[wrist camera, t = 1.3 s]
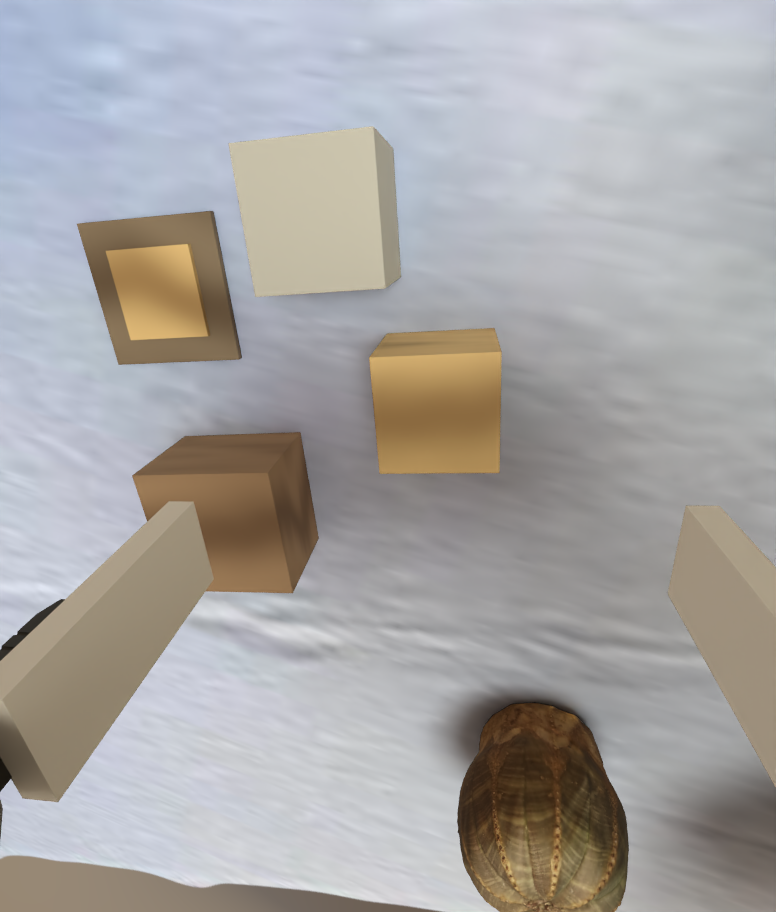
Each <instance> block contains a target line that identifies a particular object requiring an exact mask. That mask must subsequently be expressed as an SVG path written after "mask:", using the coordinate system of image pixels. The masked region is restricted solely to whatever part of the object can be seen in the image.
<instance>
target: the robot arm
mask: <svg viewBox="0 0 776 912" xmlns="http://www.w3.org/2000/svg"><path fill="white" fill-rule="evenodd" d="M213 579H214V578H213V574H212V570H211V566H210V562H209V559H208V555H207V551H206V547H205V543H204V540H203V536H202V532H201V528H200V524H199V521H198V517H197V513H196V509H195V505H194V502H184V501H169V502H168V503H167V504H166V505H165V506H163V507H162V508H161V509H160V510H159V511H158V512H157V513H156V514H155V515H154V516H153V517H152V518H151V519H150V520H149V521H148V522H147V523H146V524H144V525H143V526H142V527H141V528H140V529H139V530H138V531H137V532H136V533H135V534H134V535H133V536H132V537H131V538H130V539H129V540H128V541H127V542H125V543H124V544H123V545H122V546H121V547H120V548H119V549H118V550H117V551H116V552H115V553H114V554H113V555H112V556H111V557H110V558H109V559H108V560H107V561H105V562H104V563H103V564H102V565H101V566H100V567H99V568H98V569H97V570H96V571H95V572H94V573H93V574H92V575H91V576H90V577H89V578H88V579H86V580H85V581H84V582H83V583H82V584H81V585H80V586H79V587H78V588H77V589H76V590H75V591H74V592H73V593H72V594H71V595H70V596H69V597H67V598H66V599H61V600H59V601H57V602H56V603H54V604H52V605H51V606H49V607H47V608H46V609H44V610H43V611H41V612H39V613H38V614H36V615H35V616H34V617H33V618H32V619H31V620H30V621H29V622H28V623H26V624H25V625H24V626H23V627H22V628H21V629H20V630H19V631H18V633H17V635H13V636H12V637H11V638H10V639H9V640H8V641H7V642H6V643H5V644H4V645H2V649H1V650H0V791H1V790H2V789H3V788H4V786H5V785H6V784H7V783H8V781H9V780H10V779H12V781H13V783H14V784H15V786H16V788H17V789H18V791H19V793H20V794H21V796H22V798H25V799H34V800H43V801H53V802H59V800H60V799H61V797H62V796H63V794H64V793H65V792H66V790H67V789H68V787H69V786H70V784H71V783H72V782H73V780H74V779H75V777H76V776H77V774H78V773H79V772H80V770H81V769H82V767H83V766H84V764H85V763H86V761H87V760H88V759H89V757H90V756H91V754H92V753H93V751H94V750H95V749H96V747H97V746H98V744H99V743H100V741H101V740H102V739H103V737H104V736H105V734H106V733H107V731H108V730H109V729H110V727H111V726H112V724H113V723H114V721H115V720H116V718H117V717H118V716H119V714H120V713H121V711H122V710H123V708H124V707H125V706H126V704H127V703H128V701H129V700H130V698H131V697H132V696H133V694H134V693H135V691H136V690H137V688H138V687H139V686H140V684H141V683H142V681H143V680H144V678H145V677H146V675H147V674H148V673H149V671H150V670H151V668H152V667H153V665H154V664H155V663H156V661H157V660H158V658H159V657H160V655H161V654H162V653H163V651H164V650H165V648H166V647H167V645H168V644H169V643H170V641H171V640H172V638H173V637H174V635H175V634H176V632H177V631H178V630H179V628H180V627H181V625H182V624H183V622H184V621H185V620H186V618H187V617H188V615H189V614H190V612H191V611H192V610H193V608H194V607H195V605H196V604H197V602H198V601H199V600H200V598H201V597H202V595H203V594H204V592H205V591H206V589H207V588H208V587H209V585H210V584H211V582H212V581H213ZM668 595H669V597H670V599H671V601H672V603H673V604H674V606H675V608H676V610H677V612H678V613H679V615H680V617H681V619H682V620H683V622H684V624H685V626H686V628H687V629H688V631H689V633H690V635H691V637H692V638H693V640H694V642H695V644H696V646H697V647H698V649H699V651H700V653H701V655H702V656H703V658H704V660H705V662H706V663H707V665H708V667H709V669H710V671H711V672H712V674H713V676H714V678H715V680H716V681H717V683H718V685H719V687H720V689H721V690H722V692H723V694H724V696H725V698H726V699H727V701H728V703H729V705H730V706H731V708H732V710H733V712H734V714H735V715H736V717H737V719H738V721H739V723H740V724H741V726H742V728H743V730H744V732H745V733H746V735H747V737H748V739H749V741H750V742H751V744H752V746H753V748H754V749H755V751H756V753H757V755H758V757H759V758H760V760H761V762H762V764H763V766H764V767H765V769H766V771H767V773H768V775H769V776H770V778H771V780H772V782H773V784H774V785H775V787H776V567H775V566H774V565H773V564H772V563H771V562H770V561H769V559H768V558H767V557H766V556H765V555H764V554H763V553H762V552H761V551H760V550H759V549H758V547H757V546H756V545H755V544H754V543H753V542H752V541H751V540H750V539H749V538H748V537H747V535H746V534H745V533H744V532H743V531H742V530H741V529H740V528H739V527H738V526H737V524H736V523H735V522H734V521H733V520H732V519H731V518H730V517H729V516H728V515H727V514H726V512H725V511H724V510H723V509H722V508H721V507H720V506H686V507H685V512H684V517H683V522H682V527H681V532H680V536H679V541H678V546H677V551H676V556H675V561H674V565H673V570H672V575H671V580H670V585H669V590H668ZM2 811H3V808H2V804H1V800H0V837H1V824H2Z"/></svg>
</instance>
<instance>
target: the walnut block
mask: <svg viewBox="0 0 776 912" xmlns="http://www.w3.org/2000/svg"><path fill="white" fill-rule="evenodd" d="M132 476H133V480H134V483H135V486H136V489H137V492H138V495H139V498H140V501H141V504H142V507H143V510H144V513H145V516H146V519H147V522H148V521H149V520H150V519H151V518H152V517H153V516H154V515H155V514H156V513H157V512H158V511H159V510H160V509H161V508H162V507H163V506H165V505H166V504H167V503H168V502H169V501H184V502H194V505H195V509H196V513H197V517H198V521H199V524H200V528H201V532H202V536H203V540H204V543H205V547H206V551H207V555H208V559H209V562H210V566H211V570H212V574H213V578H214V579H213V581H212V582H211V584H210V585H209V587H208V588H207V589H206V591H219V592H268V593H293V591H294V589H295V587H296V585H297V583H298V581H299V579H300V577H301V575H302V572H303V570H304V568H305V566H306V564H307V562H308V560H309V558H310V555H311V553H312V551H313V549H314V547H315V545H316V543H317V541H318V539H319V537H318V532H317V526H316V520H315V514H314V508H313V503H312V497H311V491H310V485H309V479H308V474H307V468H306V462H305V456H304V450H303V445H302V439H301V433H300V432H295V433H265V434H236V435H207V436H185V437H183V438H182V439H181V440H179V441H178V442H177V443H175V444H174V445H173V446H171V447H170V448H169V449H167V450H166V451H165V452H163V453H162V454H161V455H159V456H158V457H157V458H155V459H154V460H153V461H151V462H150V463H148V464H147V465H146V466H144V467H143V468H142V469H140V470H139V471H138V472H136V473H135V474H134V475H132Z"/></svg>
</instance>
